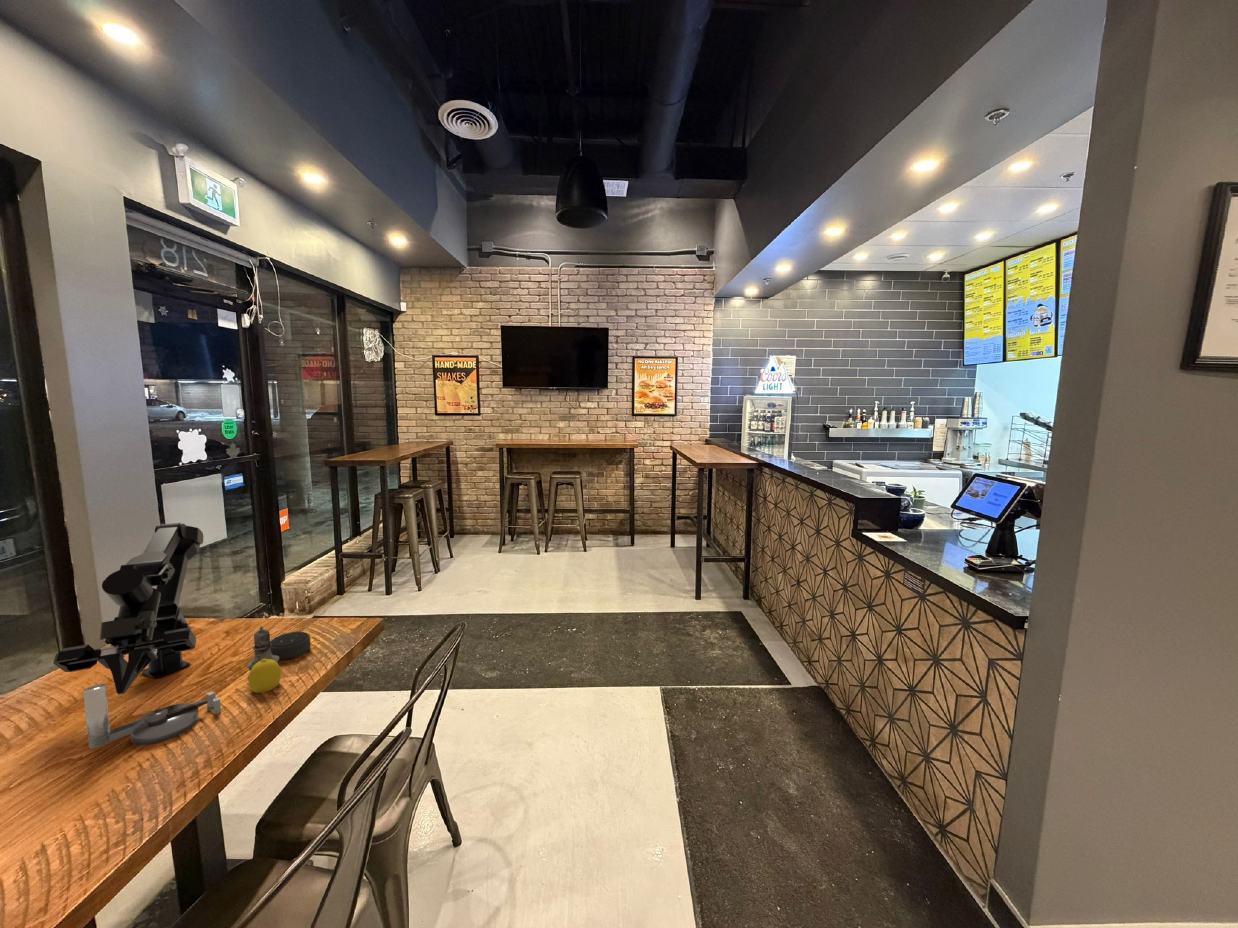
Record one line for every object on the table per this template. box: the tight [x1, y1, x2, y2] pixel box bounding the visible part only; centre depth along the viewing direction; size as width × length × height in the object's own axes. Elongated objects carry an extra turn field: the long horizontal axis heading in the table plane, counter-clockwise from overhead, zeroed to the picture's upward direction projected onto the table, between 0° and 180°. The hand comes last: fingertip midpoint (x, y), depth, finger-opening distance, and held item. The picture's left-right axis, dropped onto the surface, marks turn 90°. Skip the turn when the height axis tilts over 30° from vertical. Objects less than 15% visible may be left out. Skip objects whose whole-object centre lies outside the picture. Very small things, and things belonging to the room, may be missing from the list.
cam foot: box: [83, 683, 207, 749], centre depth 84 cm, size 13×11×12 cm
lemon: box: [248, 659, 282, 694], centre depth 98 cm, size 6×6×8 cm
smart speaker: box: [270, 631, 312, 662], centre depth 116 cm, size 9×9×4 cm
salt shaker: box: [247, 626, 279, 672], centre depth 105 cm, size 6×6×12 cm
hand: (120, 693), depth 86 cm, fingers closed
